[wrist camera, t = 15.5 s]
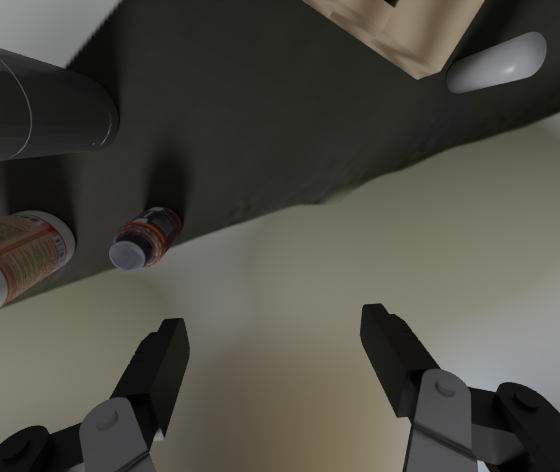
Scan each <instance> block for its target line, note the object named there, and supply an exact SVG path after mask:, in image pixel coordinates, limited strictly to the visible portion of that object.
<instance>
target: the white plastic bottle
mask: <svg viewBox="0 0 560 472" xmlns="http://www.w3.org/2000/svg"><path fill="white" fill-rule="evenodd" d="M74 251H75V239H74V236H73V234H72V232H71V230H70V229H69V228H68V226H67V225H66V224H65V223H64V222H63V221H61V220H60V219H59V218H57V217H56V216H54V215H52V214H49V213H47V212H43V211H37V210H28V211H22V212H18V213H14V214H11V215H8V216H5V217H2V218H0V307H1V306H3V305H4V304H6V303H7V302H9V301H10V300H12V299H13V298H15V297H16V296H18V295H19V294H21V293H22V292H24V291H25V290H27V289H28V288H30V287H31V286H33V285H34V284H36V283H37V282H39V281H40V280H42V279H43V278H45V277H46V276H48V275H50V274H51V273H53V272H54V271H56V270H57V269H59V268H60V267H62V266H63V265H64V264H66V263H67V262H68V261H69V260H70V259H71V257H72V256H73V254H74Z"/></svg>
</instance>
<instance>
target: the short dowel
mask: <svg viewBox="0 0 560 472" xmlns="http://www.w3.org/2000/svg"><path fill="white" fill-rule="evenodd" d="M546 50H547V47H546V41H545V39H544V37H543V36H542V35H541V34H540V33H538V32H529V33H526V34H524V35H521V36H519V37H516V38H514V39H511V40H509V41H506V42H503V43H501V44H498V45H496V46H493V47H491V48H488V49H486V50H483V51H481V52H478V53H476V54H473V55H470V56H468V57H465V58H463V59H460V60H458V61H456V62H455V63H453V64H452V66H451V67H450V68H449V70H448V73H447V76H446V84H447V87H448V89H449V90H450V91H451V92H453V93H456V94H459V93H463V92H468V91H472V90H476V89H480V88H485V87H489V86H493V85H497V84H502V83H506V82H510V81H514V80H519V79H523V78H527V77H529V76H531V75H533V74H534V73H535V72H536V71H537V70H538V69H539V68H540V67H541V65H542V63H543V61H544V59H545V56H546Z"/></svg>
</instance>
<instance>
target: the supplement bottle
mask: <svg viewBox="0 0 560 472" xmlns="http://www.w3.org/2000/svg"><path fill="white" fill-rule="evenodd" d="M181 229H182V226H181V221H180V219H179V217H178V216H177V214H176V213H175V212H174V211H172V210H171V209H169V208H166V207H160V206H157V207H152V208H150V209H148V210H146V211H145V212H143V213H142V214H140V215H139V216H137V217H136V218H134V219H133V220H132V221H130V222H129V223H127V224H126V225H124V226H123V227H121V228H120V229H119V230H118V231H117V232H116V234H115V236H114V239H113V245H112V246H111V248H110V251H109V256H110V259H111V261H112V263H113V264H114V265H115V266H116V267H118V268H119V269H121V270H124V271H128V272H133V271H137V270H139V269H141V268H146V267H150V266H152V265H154V264H155V263H157V262H158V261H159V260H160V259H161V258H162V257H163V255H164V254H165V253H166V252H167V250H168V249H169V248H170V247H171V246H172V244H173V243H174V242H175V241H176V239H177V238H178V237H179V235H180V233H181Z"/></svg>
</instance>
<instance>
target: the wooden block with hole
mask: <svg viewBox="0 0 560 472" xmlns="http://www.w3.org/2000/svg"><path fill="white" fill-rule="evenodd" d="M302 1H304V2H305V3H307V4H308V5H310V6H311V7H313V8H314V9H315V10H317V11H318V12H320V13H321V14H323V15H324V16H326V17H327V18H328V19H330V20H331V21H333V22H334V23H336V24H337V25H339V26H340V27H341V28H343V29H344V30H346V31H347V32H349V33H350V34H352V35H353V36H354V37H356V38H357V39H359V40H360V41H362V42H363V43H365V44H366V45H367V46H369V47H370V48H372V49H373V50H375V51H376V52H378V53H379V54H380V55H382V56H383V57H385V58H386V59H388V60H389V61H391V62H392V63H393V64H395V65H396V66H398V67H399V68H401V69H402V70H404V71H405V72H406V73H408V74H409V75H411V76H412V77H414V78H415V79H420V78H423V77H426V76H429V75H432V74H434V73H437V72H440V71H441V69H442V67H443V66H444V64H445V63H446V61H447V59H448V58H449V56H450V55H451V53H452V52H453V50H454V48H455V47H456V45H457V44H458V42H459V40H460V39H461V37H462V36H463V34H464V32H465V31H466V29H467V28H468V26H469V24H470V23H471V21H472V20H473V18H474V17H475V15H476V13H477V12H478V10H479V9H480V7H481V5H482V4H483V2H484V1H485V0H390V1H389V2H388V3H387V2H385V1H384V0H302Z"/></svg>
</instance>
